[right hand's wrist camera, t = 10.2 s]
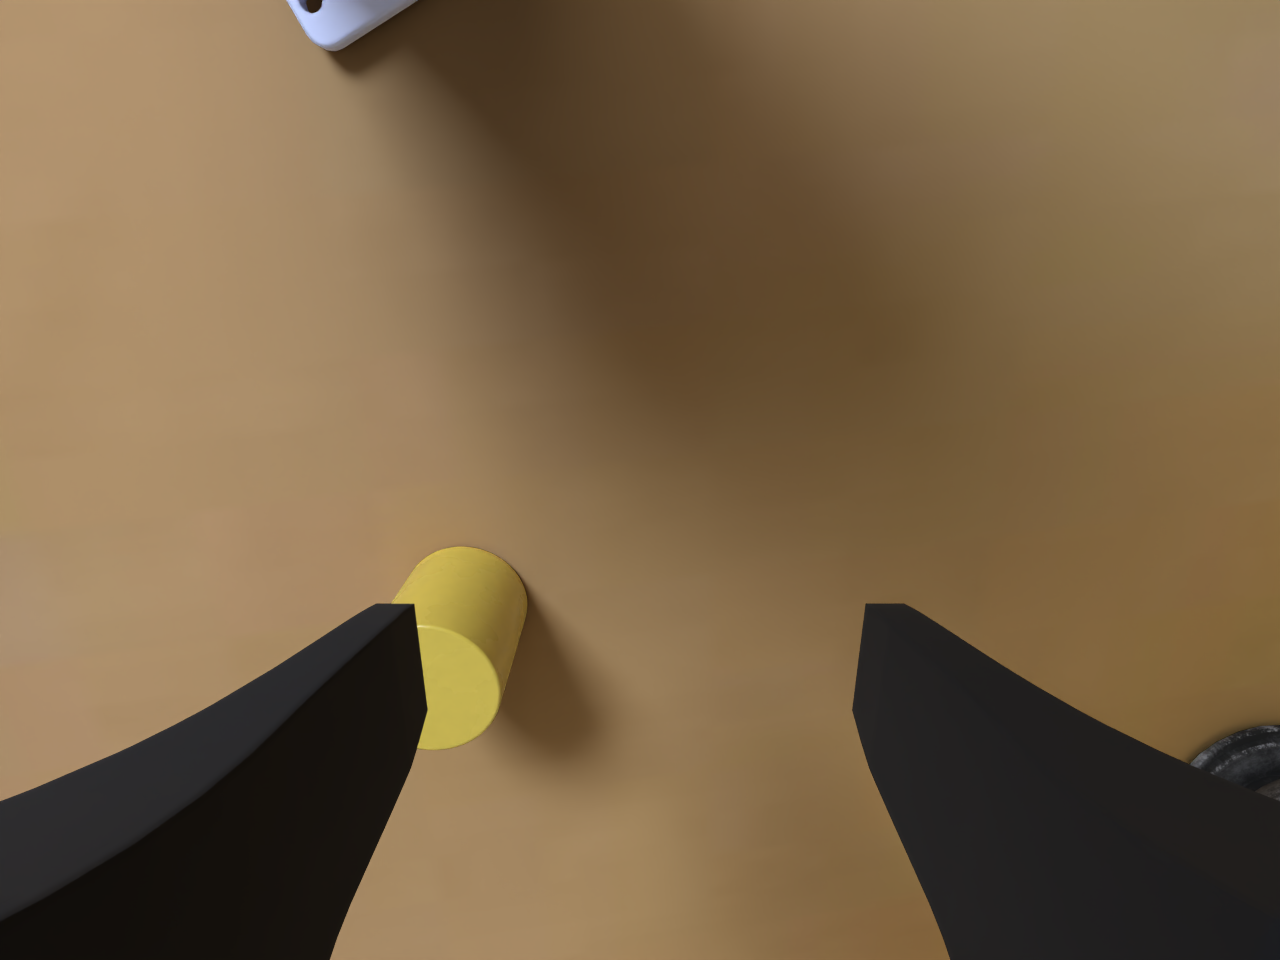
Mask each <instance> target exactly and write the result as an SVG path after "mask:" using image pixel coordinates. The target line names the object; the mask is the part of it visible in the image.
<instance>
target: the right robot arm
mask: <svg viewBox="0 0 1280 960" xmlns="http://www.w3.org/2000/svg"><path fill="white" fill-rule="evenodd" d="M306 1H307V0H287V2H288V4H289V6H290V7H291V9H292V11H293V12H294V14H295V16H296V17H297V19H298V21H299V23H300V24H301V26H302V28H303V29H304V31H305V33H306V34H307V36H308V37H309V38H310V39H311V41H312V42H313V43H315V44H317V45H318V46H320V47H322V48H324V49H325V50H329V51H338V50H341V49H343V48H345V47H346V46H348V45H349V44H351V43H353V42H354V41H356V40H357V39H359V38H360V37H362V36H363V35H365V34H367V33H368V32H370V31H371V30H373V29H374V28H376V27H377V26H379V25H380V24H382V23H384V22H385V21H387V20H388V19H390V18H391V17H393V16H394V15H396V14H398V13H399V12H401V11H402V10H404V9H405V8H407V7H408V6H410V5H412V4H413V3H415V2H416V1H418V0H322V7H321V8H320V9H319V11H318V12H315V13H310V12H309V11H308V8H307V5H306ZM427 711H428V708H427V700H426V692H425V684H424V676H423V668H422V660H421V652H420V644H419V636H418V628H417V621H416V613H415V605H414V604H375V605H373V606H371V607H369V608H367V609H365V610H364V611H362V612H360V613H359V614H357V615H355V616H354V617H352V618H351V619H349V620H347V621H346V622H344V623H343V624H341V625H340V626H338V627H337V628H335V629H334V630H332V631H330V632H329V633H327V634H326V635H324V636H323V637H321V638H320V639H318V640H317V641H315V642H314V643H312V644H311V645H309V646H307V647H306V648H304V649H303V650H301V651H300V652H298V653H297V654H295V655H294V656H292V657H290V658H289V659H287V660H286V661H284V662H283V663H281V664H280V665H278V666H276V667H275V668H273V669H272V670H270V671H268V672H267V673H265V674H263V675H261V676H260V677H258V678H256V679H255V680H253V681H251V682H250V683H248V684H246V685H245V686H243V687H241V688H240V689H238V690H236V691H235V692H233V693H231V694H230V695H228V696H226V697H225V698H223V699H221V700H219V701H218V702H216V703H214V704H213V705H211V706H209V707H207V708H205V709H204V710H202V711H200V712H198V713H196V714H194V715H193V716H191V717H189V718H187V719H185V720H183V721H181V722H179V723H177V724H176V725H174V726H172V727H169V728H167V729H165V730H163V731H161V732H159V733H157V734H155V735H153V736H151V737H149V738H147V739H145V740H143V741H141V742H139V743H137V744H135V745H133V746H131V747H129V748H127V749H124V750H122V751H120V752H118V753H116V754H113V755H111V756H109V757H106V758H104V759H102V760H99V761H97V762H95V763H92V764H90V765H88V766H85V767H83V768H81V769H78V770H76V771H74V772H71V773H69V774H67V775H64V776H62V777H60V778H57V779H55V780H53V781H50V782H48V783H46V784H43V785H41V786H39V787H36V788H34V789H31V790H29V791H26V792H24V793H21V794H19V795H16V796H13V797H11V798H8V799H5V800H3V801H0V960H330V957H331V954H332V951H333V948H334V945H335V943H336V940H337V937H338V934H339V932H340V929H341V927H342V924H343V922H344V919H345V917H346V914H347V912H348V909H349V907H350V904H351V902H352V900H353V897H354V895H355V893H356V891H357V888H358V886H359V884H360V882H361V880H362V877H363V875H364V873H365V871H366V868H367V866H368V864H369V862H370V859H371V857H372V855H373V853H374V851H375V848H376V846H377V844H378V842H379V839H380V837H381V835H382V833H383V830H384V828H385V826H386V824H387V822H388V819H389V817H390V815H391V813H392V810H393V808H394V806H395V803H396V801H397V799H398V797H399V794H400V792H401V790H402V788H403V785H404V783H405V781H406V778H407V776H408V774H409V771H410V769H411V766H412V763H413V760H414V756H415V753H416V750H417V747H418V743H419V740H420V736H421V733H422V729H423V726H424V722H425V718H426V715H427ZM852 711H853V714H854V718H855V722H856V725H857V729H858V732H859V736H860V740H861V743H862V746H863V750H864V753H865V756H866V759H867V763H868V766H869V769H870V771H871V773H872V776H873V778H874V780H875V783H876V785H877V787H878V790H879V792H880V794H881V796H882V799H883V801H884V803H885V806H886V808H887V810H888V812H889V815H890V817H891V819H892V821H893V824H894V826H895V828H896V830H897V833H898V835H899V837H900V839H901V841H902V844H903V846H904V848H905V850H906V853H907V855H908V857H909V859H910V861H911V864H912V866H913V868H914V870H915V873H916V875H917V877H918V879H919V882H920V884H921V886H922V888H923V890H924V893H925V895H926V897H927V899H928V902H929V904H930V906H931V909H932V911H933V914H934V916H935V919H936V921H937V924H938V926H939V929H940V931H941V934H942V936H943V939H944V942H945V945H946V948H947V951H948V954H949V957H950V960H1280V801H1278V800H1276V799H1273V798H1270V797H1268V796H1265V795H1262V794H1260V793H1257V792H1255V791H1252V790H1250V789H1247V788H1245V787H1242V786H1240V785H1238V784H1235V783H1233V782H1230V781H1228V780H1226V779H1223V778H1221V777H1218V776H1216V775H1214V774H1211V773H1209V772H1206V771H1204V770H1201V769H1199V768H1197V767H1194V766H1192V765H1190V764H1187V763H1185V762H1183V761H1181V760H1178V759H1176V758H1174V757H1172V756H1169V755H1167V754H1165V753H1163V752H1161V751H1158V750H1156V749H1154V748H1152V747H1150V746H1148V745H1146V744H1144V743H1142V742H1140V741H1138V740H1136V739H1134V738H1132V737H1130V736H1128V735H1126V734H1124V733H1122V732H1119V731H1117V730H1115V729H1113V728H1111V727H1109V726H1107V725H1105V724H1103V723H1101V722H1099V721H1098V720H1096V719H1094V718H1092V717H1090V716H1088V715H1086V714H1084V713H1083V712H1081V711H1079V710H1077V709H1075V708H1074V707H1072V706H1070V705H1068V704H1067V703H1065V702H1063V701H1061V700H1060V699H1058V698H1056V697H1054V696H1053V695H1051V694H1049V693H1047V692H1046V691H1044V690H1042V689H1040V688H1039V687H1037V686H1035V685H1034V684H1032V683H1030V682H1029V681H1027V680H1025V679H1024V678H1022V677H1020V676H1019V675H1017V674H1015V673H1014V672H1012V671H1011V670H1009V669H1007V668H1006V667H1004V666H1003V665H1001V664H999V663H998V662H996V661H995V660H993V659H992V658H990V657H988V656H987V655H985V654H984V653H982V652H981V651H979V650H978V649H976V648H975V647H973V646H971V645H970V644H968V643H967V642H965V641H964V640H962V639H961V638H959V637H958V636H956V635H955V634H953V633H952V632H950V631H949V630H947V629H945V628H944V627H942V626H941V625H939V624H938V623H936V622H935V621H933V620H931V619H930V618H928V617H927V616H925V615H923V614H922V613H920V612H919V611H917V610H915V609H913V608H911V607H910V606H908V605H906V604H866V605H865V613H864V621H863V629H862V637H861V645H860V653H859V661H858V669H857V677H856V685H855V692H854V700H853V708H852Z"/></svg>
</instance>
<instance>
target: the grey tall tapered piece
mask: <svg viewBox="0 0 1280 960" xmlns="http://www.w3.org/2000/svg"><path fill="white" fill-rule="evenodd" d="M1190 765H1192V766H1194V767H1197V768H1199V769H1201V770H1204V771H1206V772H1209V773H1211V774H1214V775H1216V776H1218V777H1221V778H1223V779H1226V780H1228V781H1230V782H1233V783H1235V784H1238V785H1240V786H1242V787H1245V788H1247V789H1250V790H1252V791H1255V792H1257V793H1260V794H1262V795H1265V796H1268V797H1270V798H1273V799H1276V800H1278V801H1280V725H1271V726H1259V727H1255V728H1251V729H1247V730H1243V731H1239V732H1237V733H1234V734H1232V735H1230V736H1228V737H1226V738H1224V739H1222V740H1219V741H1217V742H1216V743H1214V744H1213V745H1212V746H1210V747H1209V748H1207V749H1206V750H1205V751H1203V752H1202V753H1200V754H1199V755H1198V756H1197V757H1196V758H1195V759H1194V760H1193V761H1192V763H1191V764H1190Z"/></svg>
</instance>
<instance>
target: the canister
mask: <svg viewBox="0 0 1280 960" xmlns="http://www.w3.org/2000/svg"><path fill="white" fill-rule="evenodd" d="M391 604H414V605H415V613H416V621H417V628H418V636H419V644H420V652H421V660H422V668H423V676H424V684H425V692H426V700H427V708H428V711H427V715H426V718H425V722H424V726H423V729H422V733H421V736H420V740H419V743H418V747H417V749H423V750H443V749H450V748H454V747H458V746H461V745H463V744H466V743H468V742H470V741H472V740H473V739H475V738H476V737H478V736H479V735H481V734H482V733H483V732H484V731H485V730H486V729H487V728H488V727H489V726H490V724H491V723H492V722H493V720H494V718H495V717H496V715H497V712H498V710H499V707H500V704H501V700H502V697H503V694H504V690H505V687H506V683H507V680H508V677H509V673H510V670H511V666H512V663H513V659H514V656H515V653H516V649H517V646H518V642H519V639H520V635H521V632H522V629H523V625H524V622H525V618H526V614H527V596H526V591H525V589H524V586H523V583H522V582H521V580H520V578H519V576H518V575H517V574H516V572H515V571H514V570H513V569H512V568H511V567H510V566H509V565H508V564H507V563H506V562H505V561H503V560H502V559H501V558H499V557H497V556H496V555H494V554H492V553H490V552H487V551H484V550H481V549H477V548H473V547H451V548H446V549H442V550H439V551H437V552H434V553H432V554H431V555H429V556H427V557H426V558H424V559H423V560H422V561H421V562H420V563H419V564H418V565H417V566H416V567H415V568H414V570H413V571H412V573H411V574H410V576H409V577H408V579H407V580H406V582H405V583H404V585H403V586H402V588H401V589H400V591H399V592H398V594H397V595H396V597H395V598H394V600H393V601H392V603H391Z"/></svg>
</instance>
